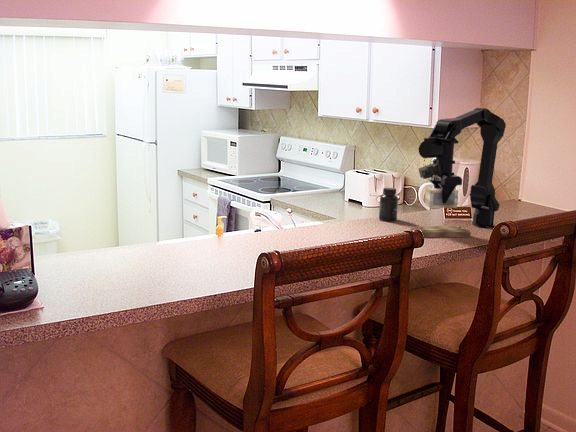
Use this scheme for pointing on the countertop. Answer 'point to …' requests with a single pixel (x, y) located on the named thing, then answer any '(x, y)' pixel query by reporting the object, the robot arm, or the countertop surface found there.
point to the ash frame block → (440, 198)
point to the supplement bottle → (388, 205)
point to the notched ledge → (443, 231)
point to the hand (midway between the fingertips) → (441, 202)
